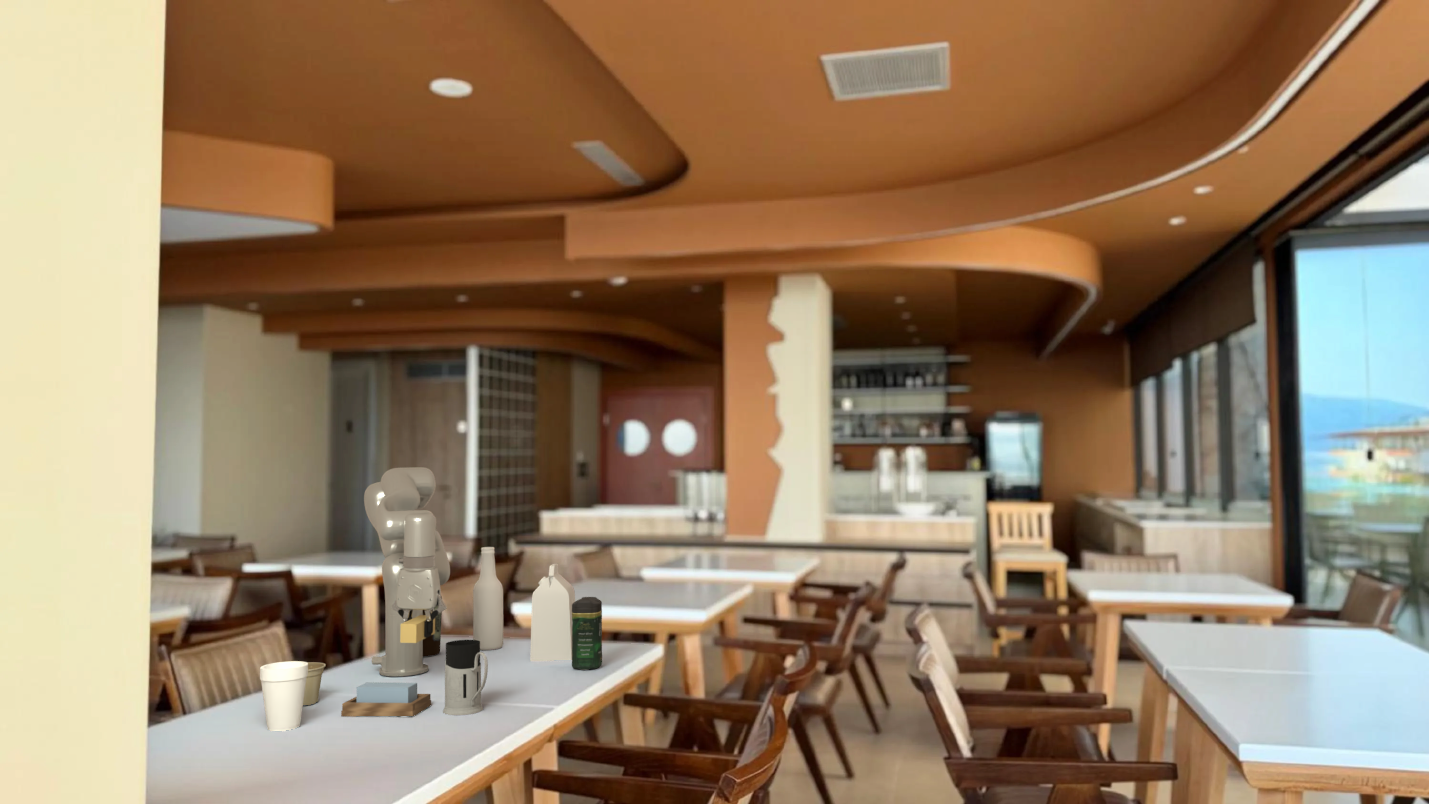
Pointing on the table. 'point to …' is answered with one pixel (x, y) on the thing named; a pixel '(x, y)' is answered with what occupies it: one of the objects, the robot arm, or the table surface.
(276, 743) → the table surface
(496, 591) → the alcohol
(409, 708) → the cradle
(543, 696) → the table surface
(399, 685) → the pale grey-blue block
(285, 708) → the foam cup
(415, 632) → the mustard wooden brick
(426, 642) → the olive oil
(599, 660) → the coffee jar
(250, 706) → the table surface
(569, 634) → the milk
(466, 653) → the glass holder
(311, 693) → the flower pot
